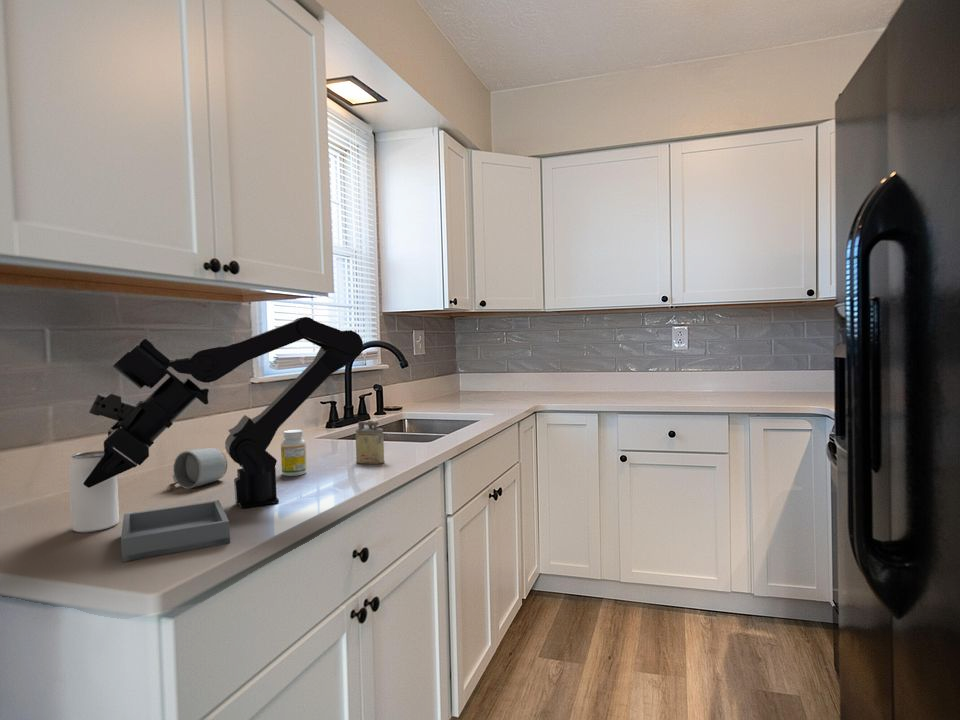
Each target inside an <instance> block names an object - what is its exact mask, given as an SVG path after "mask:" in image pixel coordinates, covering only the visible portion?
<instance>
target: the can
mask: <svg viewBox="0 0 960 720" xmlns="http://www.w3.org/2000/svg"><path fill="white" fill-rule="evenodd" d="M103 455H104V450H95V451H94V450H93V451H86V452H80V453H75V454H73V455H71V460H70V463H69V465H68V466H69V467H68V480H69V498H70V501H69V502H70V517H71V518H70V519H71V530H72V531H74V532H75V533H80V534H86V533H88V534H89V533H96V532H102V531H104V530H108V529H112V528H113V527H115V526H116V525H117V524H118V523H119V522H120V514H119V513H120V510H119V489H118V488H119V487H118V475H116V476H114V477H111V478H109V479H107V480H105V481H103V482H101V483H98V484H96V485H94V486H92V487H90V488H88V487H86V486H85V485H84V484H83V483H84V481H85V480H86V479H87V477H88V476H89V475H90V473H91V472H92V470H93V469H94V468H95V466H96V465H97V464H98V462H99V461H100V460H101V458H102V457H103Z"/></svg>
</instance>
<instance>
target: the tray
mask: <svg viewBox="0 0 960 720" xmlns="http://www.w3.org/2000/svg"><path fill="white" fill-rule="evenodd" d="M121 528H122V529H121V536H120V545H121V546H120V547H121V549H120V550H121V562H122V563H125V562H131V561H136V560H142V559H148V558H153V557H159V556H163V555H164V556H165V555H169V554H170V555H171V554H174V553H181V552H187V551H191V550H197V548H198V549H204V548H207V547H214V546H219V545H225V544H230V543H231V536H230V535H231V534H230V533H231V532H230V531H231V530H230V529H231V528H230V520H229V519H228V516H227V513H226V512H225V510H224V507H223V506H222V503H221V502H220V500H209V501H203V502H197V503H196V502H195V503H190V504H181V505H177V506H176V505H175V506H169V507H162V508H157V509H149V510H142V511H135V512H128V513H123V519H122V526H121Z"/></svg>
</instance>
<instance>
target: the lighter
mask: <svg viewBox="0 0 960 720" xmlns="http://www.w3.org/2000/svg"><path fill="white" fill-rule="evenodd" d="M357 424H358V428H356V429H355V456H356V457H355V459H356V460H355V463H357V464H365V465H367V464H375V465H377V464H382V463H385V449H384V448H385V444H384V429H383V428H379V427H377V426H378V425H379V421H374V420H367V421H363V420H362V421H358V422H357ZM366 425H367V426H368V427H365V426H366Z"/></svg>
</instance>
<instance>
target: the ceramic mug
mask: <svg viewBox="0 0 960 720" xmlns="http://www.w3.org/2000/svg"><path fill="white" fill-rule="evenodd" d="M227 469H228V459H227V456H226V454H225V453H224V452H223V450H220V449H218V448H214V447H209V448H206V447H205V448H199V449H191V450H184V451H182V452H180V453H179V454H178V455H177V456H176V457H175V459H174V463H173V468H172V472H173V474H172V479H173V481H174V483H175V484H178V485H180V487H182V488H183V489H188V488H190V489H195V488H196V487H201V486H203V485H207V484H210V483H214V482H217V481H218V480H221V479H222V478H223V477H224V476H225V475H226V473H227ZM177 482H178V483H177Z"/></svg>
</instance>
